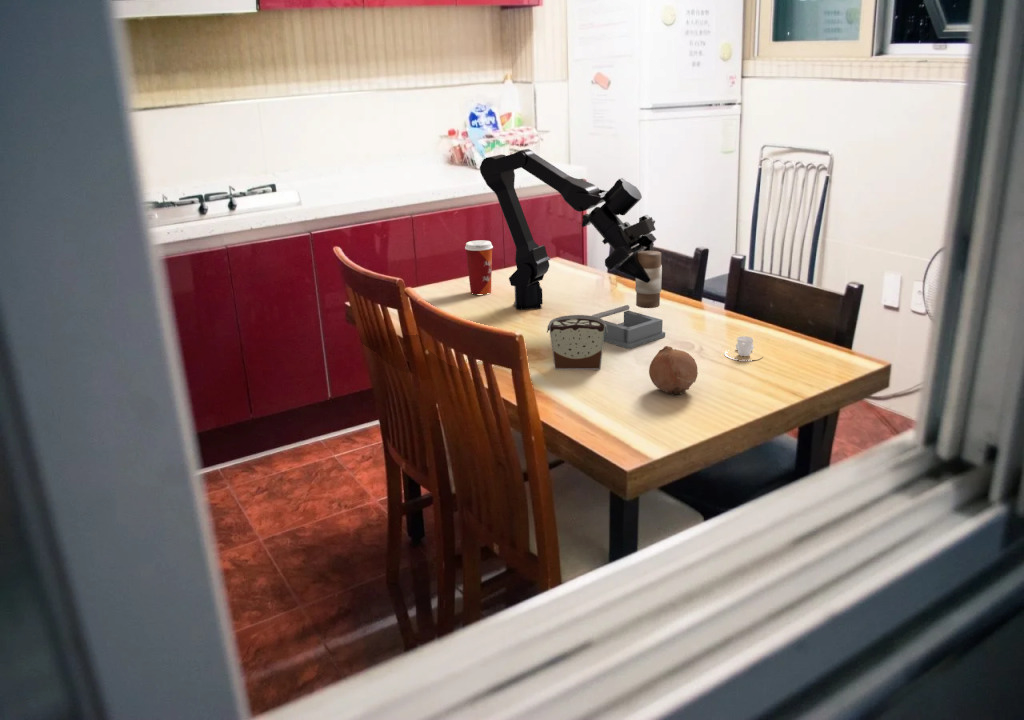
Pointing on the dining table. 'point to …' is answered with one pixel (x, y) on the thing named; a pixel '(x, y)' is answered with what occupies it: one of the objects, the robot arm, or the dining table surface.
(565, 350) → the food container
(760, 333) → the dining table surface
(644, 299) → the cord spool
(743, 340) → the teacup and saucer
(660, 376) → the onion
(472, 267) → the paper cup
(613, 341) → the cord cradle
